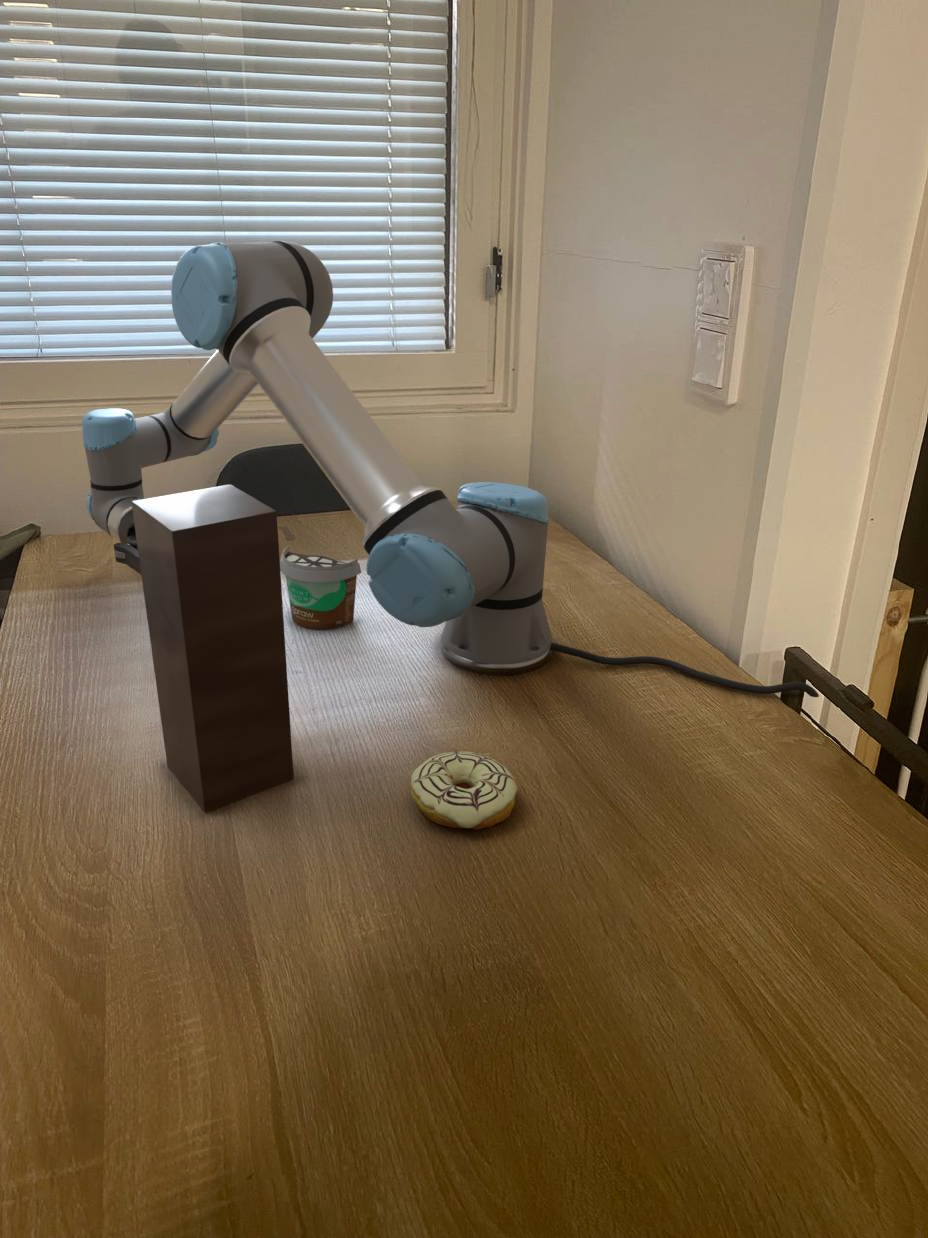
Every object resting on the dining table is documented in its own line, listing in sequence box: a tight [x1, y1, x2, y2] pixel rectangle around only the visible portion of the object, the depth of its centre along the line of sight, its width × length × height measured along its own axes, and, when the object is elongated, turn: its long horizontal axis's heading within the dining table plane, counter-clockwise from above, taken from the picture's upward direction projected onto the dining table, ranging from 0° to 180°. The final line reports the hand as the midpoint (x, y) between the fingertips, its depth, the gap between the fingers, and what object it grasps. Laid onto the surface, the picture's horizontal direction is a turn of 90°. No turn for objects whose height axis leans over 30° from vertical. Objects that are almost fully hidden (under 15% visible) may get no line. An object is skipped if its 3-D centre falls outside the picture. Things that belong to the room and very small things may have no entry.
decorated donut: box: [410, 750, 519, 831], centre depth 93 cm, size 10×11×4 cm
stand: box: [131, 484, 295, 813], centre depth 91 cm, size 10×10×30 cm
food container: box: [280, 545, 362, 631], centre depth 129 cm, size 12×6×10 cm, turn 68°
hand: (207, 581), depth 119 cm, fingers closed on bar, 3 cm apart
